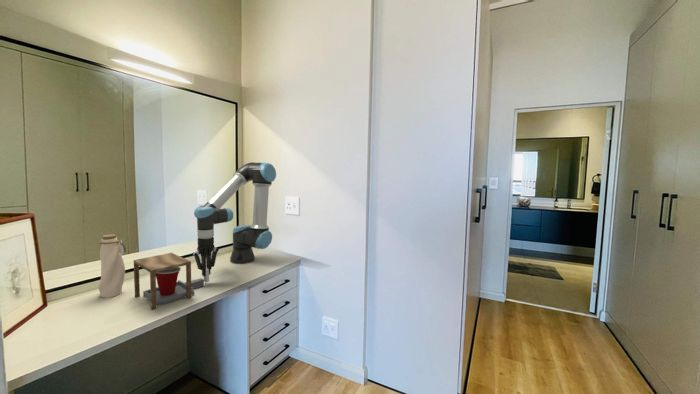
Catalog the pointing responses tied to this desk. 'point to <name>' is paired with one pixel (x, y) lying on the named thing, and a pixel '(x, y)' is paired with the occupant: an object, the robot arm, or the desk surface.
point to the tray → (178, 294)
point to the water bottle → (111, 266)
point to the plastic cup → (167, 280)
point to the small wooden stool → (157, 265)
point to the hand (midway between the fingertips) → (206, 281)
